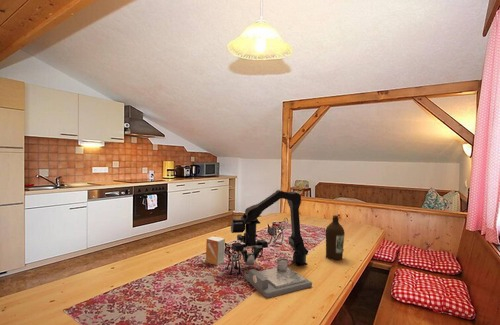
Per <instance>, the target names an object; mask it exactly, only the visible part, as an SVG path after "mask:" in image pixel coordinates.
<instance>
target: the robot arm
mask: <svg viewBox="0 0 500 325" xmlns="http://www.w3.org/2000/svg"><path fill="white" fill-rule="evenodd" d="M281 199H284V200H286V201H287V204H288V207H289V211H290V224H291V227H290V228H291V235H290V236H288V245H289V246H290V247H291V248H292V250H293V251H294V252H293V255H292V260H291V263H292V264H293V265H296V266H298V267H303V266H306V265H307V266H308V263H307V255H308V253H309V250H308V249H307V248H306V247H305V243H304V239H303V237H302V234H301V225H300V223H301V222H300V206H301V203H302V196H301V194H300V193H299V192H296V191H291V190H290V191H289V192H288V191H284V190H280V189H278V190H276V191H275V192H273V193H272V194H270V195H269V196H268V197H266V198H265V199H263V200H262V201H260V202H259V203H256V204H253V205H250V206H248V207H247V208H245V211H244V214H242V216H241V218H240V219H236V218H235V219H233V218H232V219H231V224H230V232H231V234H236V233H237V235H236V239H237V241H238V242H235V243H234V242H233V244H232V245H231V249H232V250H233V251H235V253H237V252H240V253H241V256H242V258H243V262H244V264H245V263H246V261H247V253H248V250H247V248H253V253H254V254H255V261H256V260H257V258H258V256H259V255H260V253H261V252H262V251H263V249H266V248H268V247H269V242H268V241H266V240H265V239H258V240H257V237H258V234H257V225H259V224H260V225H261V222H260V221H259V219H258V218H259V217H260V216H261V214H262V213H263V212H264V211H265V210H266V209H268V208H270V207H271V206H272V205H273V204H275V203H277V202H278V201H279V200H281ZM243 232H244V233H243ZM240 233H241V234H240ZM242 233H243V235H242Z"/></svg>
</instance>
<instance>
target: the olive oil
mask: <svg viewBox="0 0 500 325" xmlns="http://www.w3.org/2000/svg"><path fill="white" fill-rule="evenodd" d="M339 220H340V218H339V215H337V214H333V215H332V221H331V222H330V224H328V226H326V229H325V257H326V258H327V259H328V260H332V261H342V260H343V255H344V250H345V249H344V245H345V244H344V242H345V236H346V235H345V234H346V233H345V229H344V227H343V226H342V224H340V222H339Z"/></svg>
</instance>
